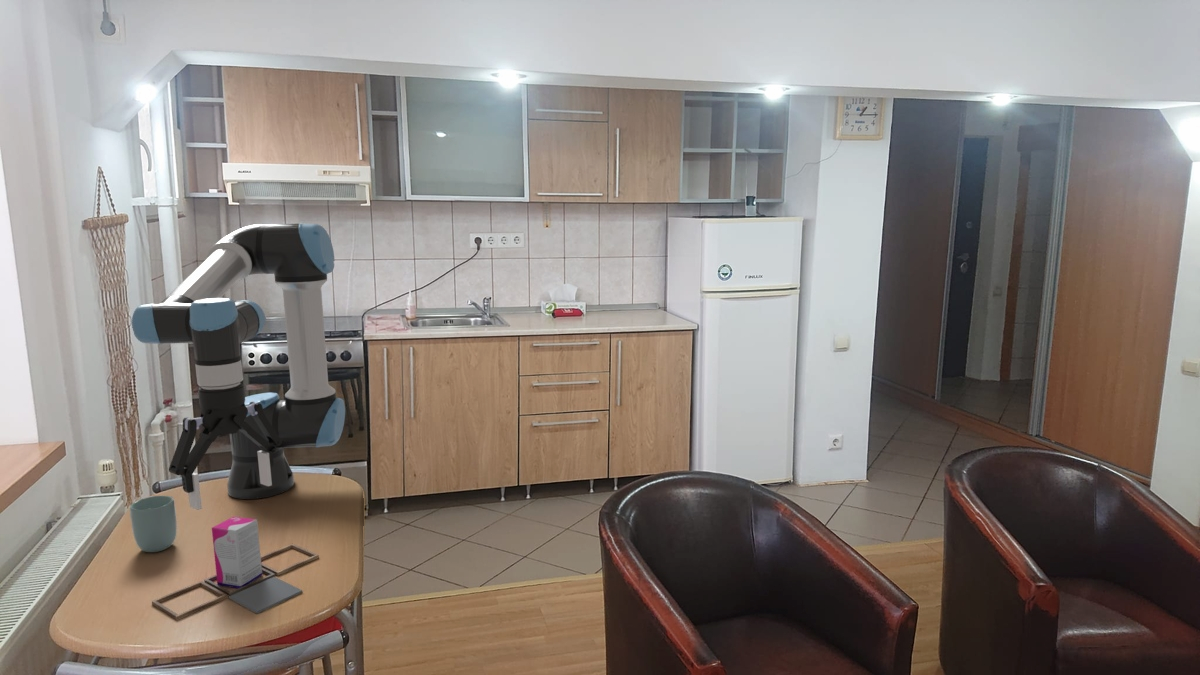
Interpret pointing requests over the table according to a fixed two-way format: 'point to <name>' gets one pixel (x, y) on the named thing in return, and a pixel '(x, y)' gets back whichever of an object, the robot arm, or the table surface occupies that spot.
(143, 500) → the cup
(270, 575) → the frame
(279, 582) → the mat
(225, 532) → the supplement box
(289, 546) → the frame
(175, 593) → the frame
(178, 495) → the table surface
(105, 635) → the table surface
